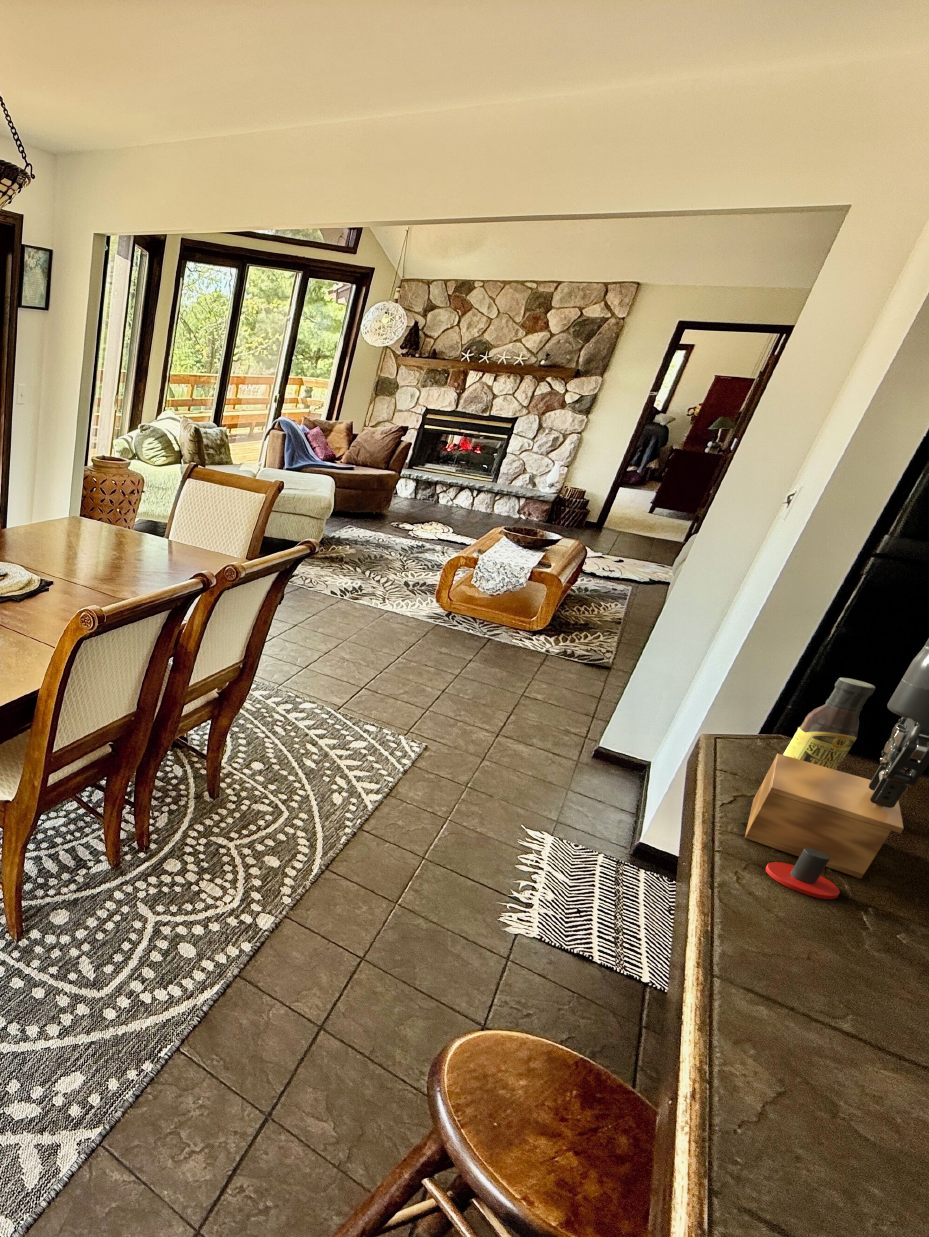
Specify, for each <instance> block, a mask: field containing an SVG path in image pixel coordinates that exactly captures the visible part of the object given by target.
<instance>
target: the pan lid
mask: <svg viewBox="0 0 929 1237" xmlns="http://www.w3.org/2000/svg"><path fill="white" fill-rule="evenodd" d="M829 860H830V857H829V856H828V855H827V854H825V853H823V852H821V851H819V850H816V849H812V848H805V849H804V850H803V852H802V854H801V855H800V857H798V858H797V860H796V862H795V863H794V864H790V863H787V862H781V861H780V862H779V861H773V862H768V863H767V865H766V866H765V873H767V874H768V876H769V877H770V878H772V879H773V880H774V881H776V882H777V883H779V884H781V885H782V886H785V887H786V888H788V889H790V890H792V891H796V892H798V893H799V894H800V893H801V894H803V895H806V896H809V897H812V898H817V899H823V900H834V899H837V898H838V896H839V895H840V893H841V892H840V889H839V887H838V886H836V884H835V883H833V882H832V881H830V880H828V879H827V878H826V877H824V876H823V875H822V873H823V872H824V870H825V868H827V867H826V865H827V863H828V862H829Z"/></svg>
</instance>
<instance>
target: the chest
mask: <svg viewBox="0 0 929 1237" xmlns="http://www.w3.org/2000/svg"><path fill="white" fill-rule="evenodd" d="M774 763H775V758H774V759H773V761H772V763H771V765H770V767H769V768H768V771H767V772H766V775H765V777H764V778H763V781H762V782H761V785H760V786H759V788H758V790H757V791H756V794H755V796H754V797H753V800H752V803H751V808H750V813H749V817H748V821H747V824H746V825H747V826H746V830H745V834H744V838H745V839H746V840H749V841H752V842H755V843H759V844H762V845H764V846H767V847H770V848H773V849H775V850H778V851H780V852H783V853H787V854H790V855H792V856H795V857H798V858H799V857H800V855H801V854H802V852H803V850H804V849H805V848H812V849H816V850H819V851H821V852H823V853H825V854H827V855H828V856H829V857H830V860H829V862H828V863H827V865H826V867H825V868H829V869H831V870H834V871H837V872H839V873H843V874H846V875H848V876H851V877H855V878H857V879H861V880H862V879H863V877H864V875H865V874H866V872H867V870H868V869H869V867H870V865H871V864H872V863H873V861H874V859H875V858H876V856H877V854H878V853H879V851H880V849H881V848H882V847H883V845H884V844H885V842H886V841H887V838H888V837H889V835H890V833H891V832H892V830H889V829H885V828H882V827H879V826H876V825H873V824H869V823H866V822H863V821H860V820H857V819H854V818H850V817H847V816H844V815H841V814H838V813H835V812H831V811H828V810H825V809H822V808H819V807H816V806H812V805H809V804H806V803H803V802H800V801H796V800H793V799H790V798H787V797H784V796H781V795H777V794H774V793H771V792H769V790H770V785H771V779H772V774H773V768H774Z"/></svg>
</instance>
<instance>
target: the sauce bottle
mask: <svg viewBox="0 0 929 1237" xmlns="http://www.w3.org/2000/svg"><path fill="white" fill-rule="evenodd" d="M875 690H876V685H873V684H871V683H868V682H865V681H862V680H859V679H858V680H857V679H854V678H849V677H839V678H838V679H837V681H835V683H834V689H833V691H832V692H831V693H830V696H829V697H828V698H827V699H826V701H825V704H822V705H821V706H819V707H815V708H814V709H813V710H812V711H810V712H809V713H808V714H807V715H806V716H805V718H804V720H803V721H802V723H801V725H800V726H798V727H797V730H796V732H795V733H794V735H793V737H792V738H791V740H790V741H789V744H788V745H787V747H786V749H785V751H784V752H783V754H782V755H785V756H788V757H792V758H795V759H799V760H802V761H806V762H809V763H813V764H816V765H820V766H823V767H827V768H830V769H834V770H837V771H838V769H839V767H840V765H841V764H842V763H843V761H844V759H845V758H846V757H847V754H848V753H849V751H850V750H851V749H852V746H854V743H855V742H856V740H857V739H858V732H859V727H860V726H859V725H860V715H861V714H860V713H861V711H862V710H863V706H864V705H865V703H866V702H867V700H868V698H869V697H871V696H872V695H873V694H874V693H875Z"/></svg>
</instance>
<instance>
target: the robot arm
mask: <svg viewBox="0 0 929 1237" xmlns="http://www.w3.org/2000/svg"><path fill="white" fill-rule="evenodd" d="M886 706H887V709H888V710H889V711H890V712H891V713H893V714H896V715H898V716H899V717H901V718H899V719H898V721H897V723H896V724H894V727H893V728H892V730H891V735H890V737H889V738H888V740H887V741H886V743H885V744H884V748H883V749H882V751H881V757H880V758H879V764H880V765H879V766H878V769H876V771H875V773H874V775H873V777H872V778H871V779H870V780H871V782H870V783H869V788H870V789H871V790H874V792H873V794H872V795H871V797H870V801H871V802H872V803H874V804H878V805H881V806H884V807H888V808H892V807H894V806H895V805H896V803H897V801H898V800H900V798H901V797H902V795H903V793H904V792H905V790H906V789H907V787H910V786H915V785H916V784H918V782H919V778H920V777H921V776H922V775H923V773H924V771H925V770H926V769H927V767H928V766H929V638H928V639H927V641H926V642H925V644H924V646H923V647H922V649H921V650H920V651H919V652H918V653H917V655H916V656H915V657H914V658H913V659H912V661H911V662H910V664H909V666H908V668H907V670H906V671H905V673H904V675H903V677H902V678H901V680H900V682H899V684H898V685H897V687H896V688H895V691H894V692H893V693H892V695H891V697H890V699H889V701H888V702H887V705H886ZM882 770H885V772H883V773H882V775H883V776H882V779H881V780H880V779H879V773H880V772H881V771H882ZM907 770H909V772H908V773H907V774H906V773H905V771H907Z"/></svg>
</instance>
